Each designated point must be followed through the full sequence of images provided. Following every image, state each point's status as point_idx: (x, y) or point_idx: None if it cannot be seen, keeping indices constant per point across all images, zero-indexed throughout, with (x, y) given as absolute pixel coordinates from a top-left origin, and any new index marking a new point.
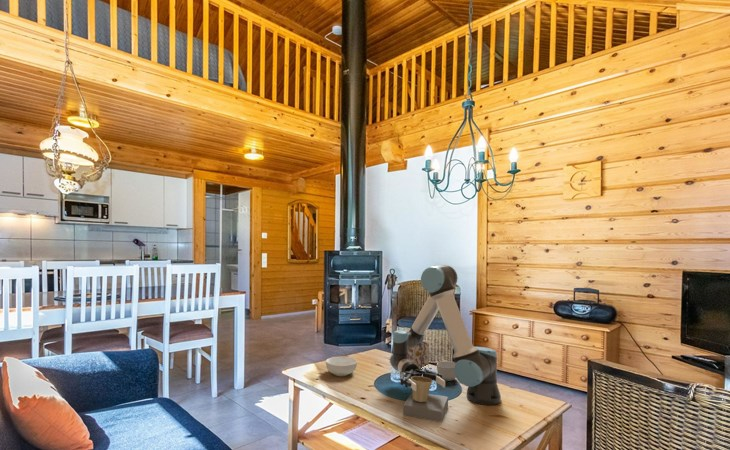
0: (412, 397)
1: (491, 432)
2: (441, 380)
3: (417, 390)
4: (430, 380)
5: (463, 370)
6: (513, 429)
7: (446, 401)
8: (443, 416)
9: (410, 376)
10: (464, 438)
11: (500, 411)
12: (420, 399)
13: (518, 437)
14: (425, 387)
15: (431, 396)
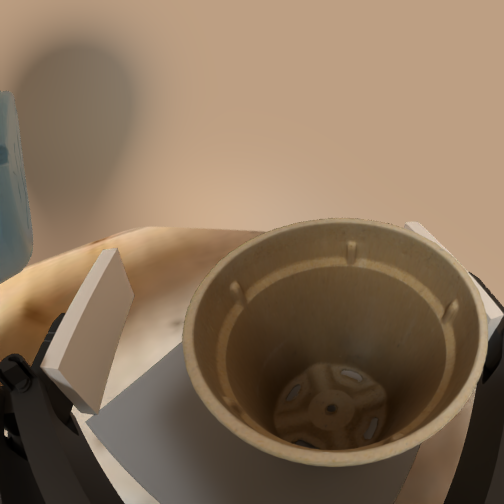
0: (375, 474)
1: (137, 255)
2: (108, 277)
3: (381, 312)
4: (200, 332)
5: (16, 156)
6: (78, 259)
7: (135, 386)
8: None
9: (486, 468)
10: (232, 243)
11: (5, 330)
12: (343, 353)
13: (105, 238)
14: (313, 274)
15: (194, 471)
